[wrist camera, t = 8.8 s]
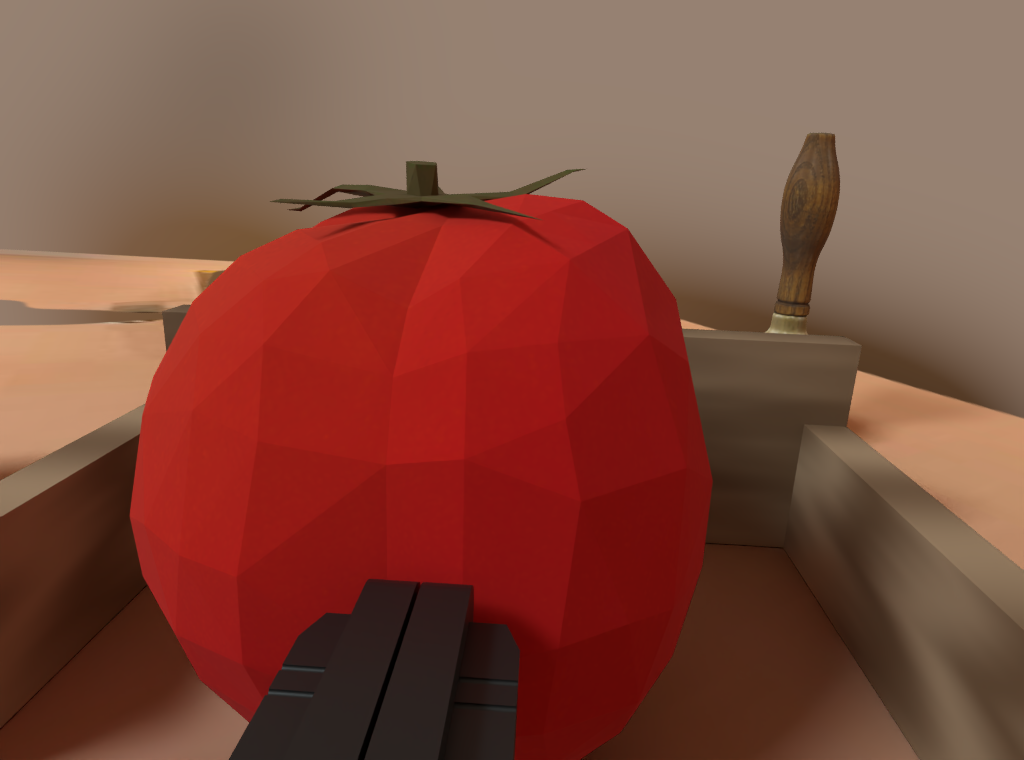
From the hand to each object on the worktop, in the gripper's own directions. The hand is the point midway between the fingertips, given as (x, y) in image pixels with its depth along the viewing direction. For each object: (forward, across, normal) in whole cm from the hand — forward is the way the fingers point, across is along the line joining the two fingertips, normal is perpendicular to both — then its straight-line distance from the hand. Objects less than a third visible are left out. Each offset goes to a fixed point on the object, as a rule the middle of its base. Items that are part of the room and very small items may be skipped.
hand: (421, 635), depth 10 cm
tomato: (+6, +1, +7) cm, 9 cm away
